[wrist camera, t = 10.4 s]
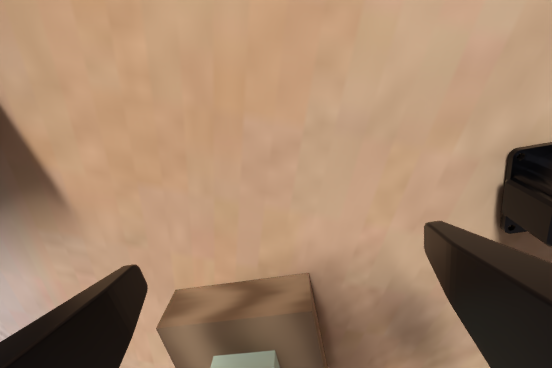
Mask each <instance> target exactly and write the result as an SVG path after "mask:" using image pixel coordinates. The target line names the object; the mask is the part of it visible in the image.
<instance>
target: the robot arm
mask: <svg viewBox="0 0 552 368" xmlns="http://www.w3.org/2000/svg"><path fill="white" fill-rule="evenodd" d="M520 153H521V155H520V157H519V158H517V156H518V155H519V154H520ZM501 212H502V218H501V229H502V230H503V231H505V232H506V233H518V232H526V231H528V232H529V233H531V234H532V235H534V236H535V237H536V238H538V239H539V240H541V241H542V242H544V243H545V244H546V245H548V246H552V142H550V143H544V144H538V145H532V146H526V147H520V148H516V149H513V150H512V151H511V152H510V153H509V156H508V165H507V174H506V181H505V185H504V193H503V202H502V211H501ZM510 225H511V226H510ZM509 226H510V227H509ZM424 249H425V253H426V255H427V257H428V259H429V262H430V264H431V266H432V268H433V270H434V272H435V274H436V276H437V278H438V280H439V282H440V284H441V286H442V288H443V290H444V292H445V294H446V296H447V298H448V300H449V302H450V304H451V305H452V307H453V309H454V310H455V312H456V314H457V315H458V317H459V318H460V320H461V322H462V323H463V325H464V326H465V328H466V329H467V331H468V333H469V334H470V336H471V337H472V339H473V341H474V342H475V344H476V345H477V347H478V348H479V350H480V352H481V353H482V355H483V356H484V358H485V360H486V361H487V363H488V364H489V366H490V367H491V368H552V263H550V262H548V261H545V260H542V259H540V258H537V257H535V256H532V255H529V254H527V253H524V252H521V251H519V250H516V249H514V248H511V247H508V246H506V245H503V244H500V243H498V242H495V241H493V240H490V239H487V238H485V237H482V236H479V235H477V234H474V233H471V232H469V231H466V230H464V229H461V228H458V227H456V226H453V225H450V224H448V223H445V222H443V221H434V222H428V223H426V224H425V226H424ZM147 289H148V288H147V283H146V280H145V278H144V276H143V274H142V272H141V270H140V268H139V267H138V266H137V265H127V266H123V267H121V268H120V269H118V270H116V271H115V272H113V273H111V274H110V275H108V276H107V277H105V278H103V279H102V280H100V281H99V282H97V283H95V284H94V285H92V286H90V287H89V288H87V289H86V290H84V291H82V292H81V293H79V294H77V295H76V296H74V297H73V298H71V299H69V300H68V301H66V302H64V303H63V304H61V305H60V306H58V307H56V308H55V309H53V310H52V311H50V312H48V313H47V314H45V315H43V316H42V317H40V318H39V319H37V320H35V321H34V322H32V323H30V324H29V325H27V326H26V327H24V328H22V329H21V330H19V331H18V332H16V333H14V334H13V335H11V336H9V337H8V338H6V339H5V340H3V341H1V342H0V368H119V367H120V364H121V362H122V360H123V357H124V355H125V353H126V350H127V348H128V346H129V343H130V341H131V338H132V336H133V333H134V330H135V327H136V324H137V321H138V318H139V315H140V312H141V309H142V306H143V303H144V300H145V297H146V293H147Z"/></svg>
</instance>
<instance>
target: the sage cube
mask: <svg viewBox="0 0 552 368" xmlns="http://www.w3.org/2000/svg"><path fill="white" fill-rule="evenodd" d="M211 368H280V366H279V363H278V359H277V356H276V352H275V350H273V351H262V352H251V353H241V354H230V355H219V356H213V360H212V364H211Z"/></svg>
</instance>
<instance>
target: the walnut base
mask: <svg viewBox="0 0 552 368" xmlns="http://www.w3.org/2000/svg"><path fill="white" fill-rule="evenodd" d="M156 329H157V331H158V333H159V335H160V338H161V340H162V342H163V344H164V346H165V348H166V350H167V352H168V354H169V356H170V358H171V360H172V362H173V364H174V366H175V368H211V364H212V360H213V356H219V355H230V354H241V353H251V352H262V351H273V350H275V352H276V356H277V359H278V363H279V366H280V368H327V363H326V358H325V353H324V348H323V343H322V338H321V333H320V328H319V323H318V318H317V313H316V308H315V303H314V298H313V292H312V287H311V282H310V277H309V273H305V274H298V275H290V276H282V277H274V278H267V279H259V280H251V281H243V282H235V283H228V284H220V285H212V286H204V287H197V288H189V289H181V290H175V292H174V294H173V296H172V298H171V300H170V302H169V304H168V306H167V308H166V310H165V312H164V314H163V316H162V318H161V320H160V322H159V324H158V326H157V328H156Z"/></svg>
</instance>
